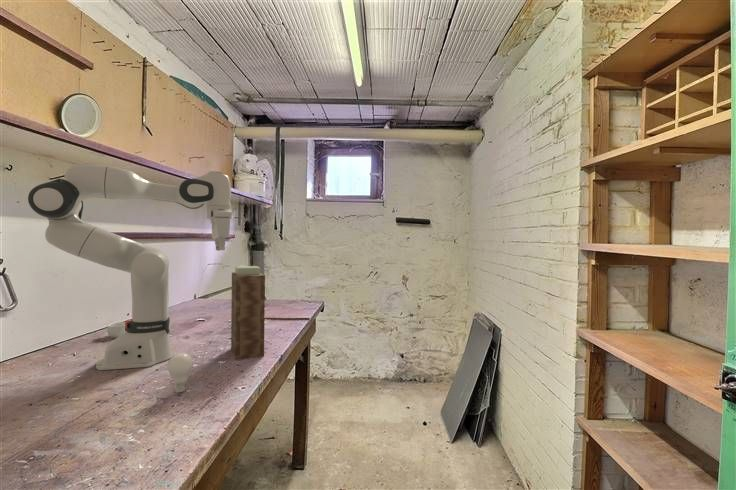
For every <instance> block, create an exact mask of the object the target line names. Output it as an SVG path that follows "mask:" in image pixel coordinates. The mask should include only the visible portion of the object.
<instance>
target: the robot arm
mask: <svg viewBox="0 0 736 490" xmlns="http://www.w3.org/2000/svg"><path fill="white" fill-rule="evenodd" d="M89 198H90V199H91V198H95V199H96V198H99V199H105V200H153V201H154V200H155V201H165V202H168V203H170V202H171V203H176V204H178V205H181V206H183V207H185V208H186V209H189V210H190V209H191V210H196V209H199V208H202V207H203V206H204V205H206V220H210V224H211V239H212V240H214V244H215V250H216V252H217V251H225V250H226V242H227V241H226V238H229V236H230V228H231V220H232V218H233V215H232V214H233V212H232V211H233V210H232V204H231V199H232V185H231V181H230V177H229V176H228V175H226V173H223V172H219V171H215V170H213V171H212V170H211V171H208V172H207V173H205V174H203V175H201V176H197V177H192V178H188V179H185V180H183V181H182V182H181V183H180V185H172V184H165V183H158V182H157V183H156V182H152V181H149V180H147V179H145V178H143V177H142V176H140V175H138V174H137V173H135V172H134V171H132V170H128V169H126V168H121V167H118V166H112V165H103V164H89V163H88V164H72V165H70V166H69V167H68V168H67V169H66V171H65V174H64V178H56V179H54V180H50V181H47V182H43V183H41V184H38V185H36V186H35V187H33V188H32V189H31V190H30V191H29V193H28V196H27V201H28V205H29V207H30V209H32V211H33V212H35V213H36V214H37V215H39V216H41V217H43V218H47V220H48V226H47V228H46V229H45V233H44V235H45V237H44V238H45V240H46V242H47V243H48V244H50V245H51V246H53V247H55V248H57V249H59V250H61V251H63V252H66V253H68V254H69V255H72V256H76V257H78V258H80V259H83V260H87V261H89V262H92V263H95V264H98V265H101V266H104V267H107V268H112V269H115V270H119V271H123V272H126V273H129V274H130V286H131V288H130V289H131V302H132V303H131V318H132V319H126V321H124V322H125V331H126V332H124V333H123V334H122V335H120V336H119V337H118V338H114V340H112V341H110V343H109V344H108V346H107V347H106V349H105V352H104V356H103V357H101V358H99V359H98V360H97V362H96V363H95V364H96V365H95V369H96V370H98V371H109V370H121V369H136V368H148V367H152V366H154V365H157V364H158V363H159V364H160V363H161V362H165V361H168V360H170V359H171V357H173V356H174V352H173V349H172V345H171V340H170V332H171V320H170V316H169V296H170V295H169V265H170V262H169V258H168V256H167V255H166V253H164V252H163V251H162V250H159V249H157V248H154V247H151V246H149V245H147V244H143V243H141V242H138V241H135V240H133V239H130V238H127V237H124V236H122V235H118V234H117V233H113V232H111V231H108V230H106V229H104V228H100V227H98V226H95V225H94V224H93V225H92V224H91V223H88V222H86V221H84V220H82V216H83V210H84V200H86V199H89Z"/></svg>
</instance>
